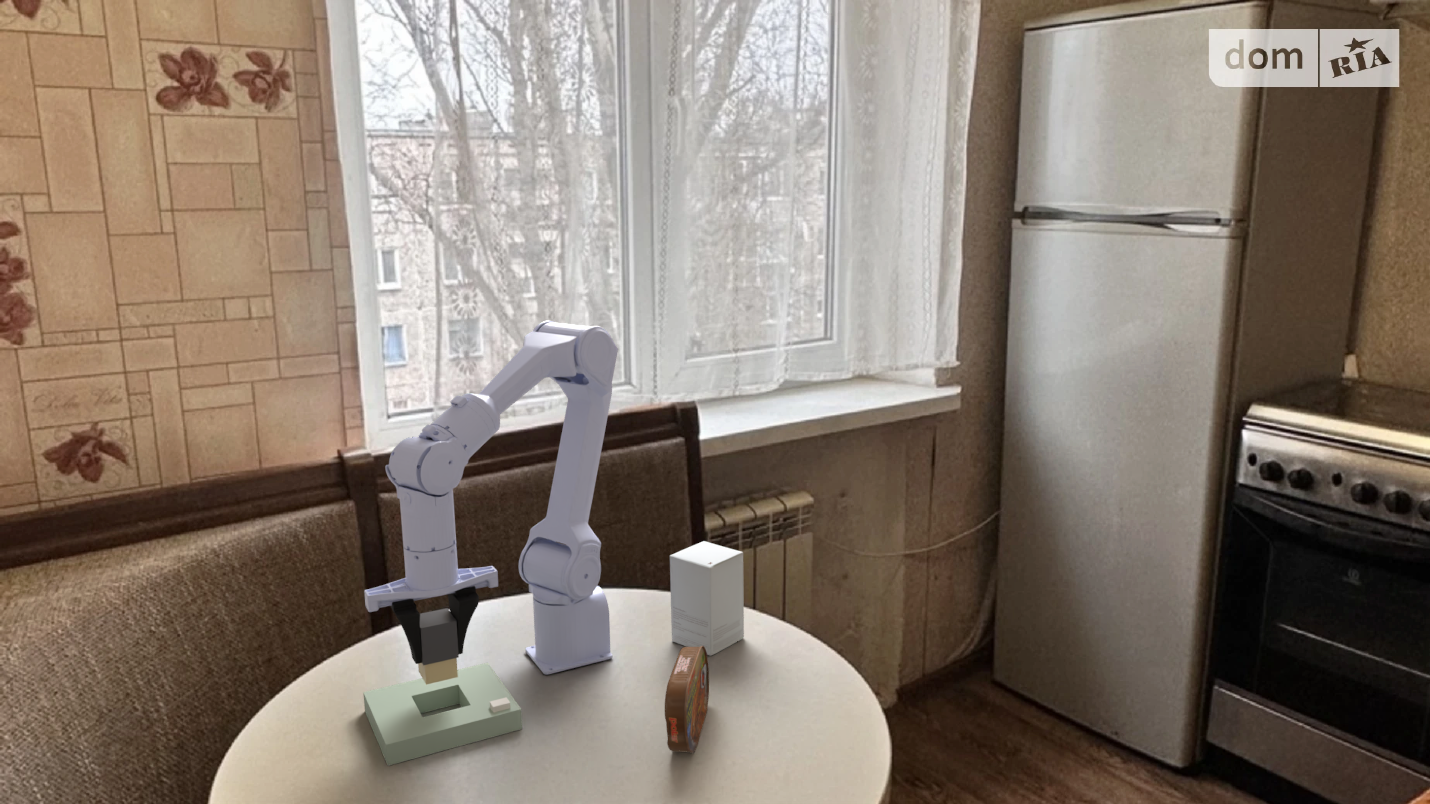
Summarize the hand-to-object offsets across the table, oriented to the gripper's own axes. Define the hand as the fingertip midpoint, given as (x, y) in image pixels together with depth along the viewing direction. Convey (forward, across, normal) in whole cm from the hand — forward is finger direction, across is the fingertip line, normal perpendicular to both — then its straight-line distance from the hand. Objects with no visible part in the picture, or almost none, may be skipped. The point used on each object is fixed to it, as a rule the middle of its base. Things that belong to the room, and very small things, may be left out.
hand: (437, 655), depth 115 cm
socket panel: (+8, 0, 0) cm, 8 cm away
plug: (+2, 0, 0) cm, 3 cm away
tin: (+8, -24, +16) cm, 30 cm away
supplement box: (+8, -37, -3) cm, 38 cm away
